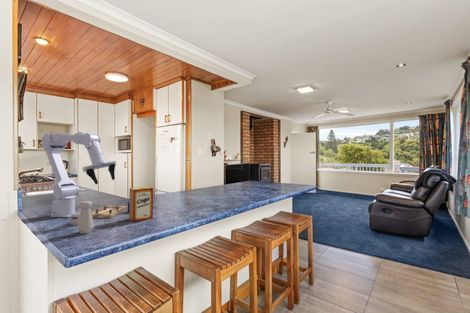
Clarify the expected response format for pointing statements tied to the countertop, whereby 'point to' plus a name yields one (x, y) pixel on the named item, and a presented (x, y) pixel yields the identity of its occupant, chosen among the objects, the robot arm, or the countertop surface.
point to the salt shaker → (85, 218)
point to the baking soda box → (141, 203)
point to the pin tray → (108, 211)
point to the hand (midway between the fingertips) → (105, 181)
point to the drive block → (75, 218)
